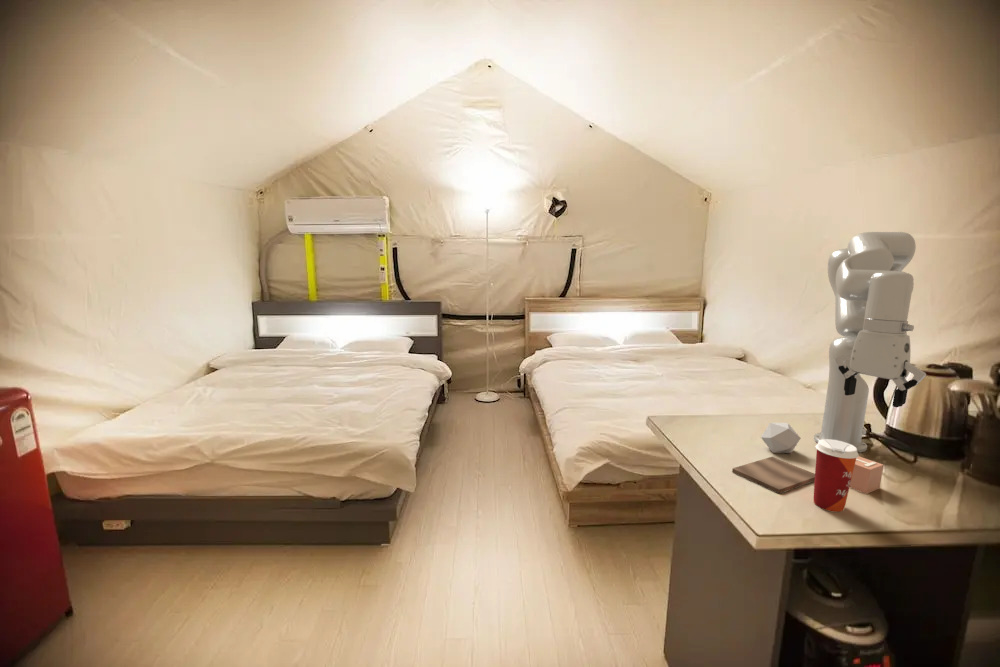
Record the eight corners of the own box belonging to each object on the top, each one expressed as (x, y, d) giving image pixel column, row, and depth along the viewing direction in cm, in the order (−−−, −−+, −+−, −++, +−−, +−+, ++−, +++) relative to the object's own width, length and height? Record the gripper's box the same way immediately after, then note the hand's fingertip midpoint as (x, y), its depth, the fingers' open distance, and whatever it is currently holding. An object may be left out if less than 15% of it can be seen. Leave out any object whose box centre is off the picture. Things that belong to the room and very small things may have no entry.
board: (771, 460, 127) (771, 456, 127) (818, 479, 117) (819, 475, 117) (732, 472, 120) (732, 468, 120) (778, 493, 109) (779, 489, 109)
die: (786, 447, 138) (766, 418, 139) (812, 443, 130) (791, 412, 132) (770, 462, 134) (749, 432, 136) (795, 459, 127) (773, 427, 128)
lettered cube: (851, 477, 118) (855, 454, 117) (879, 488, 113) (883, 463, 112) (838, 482, 116) (841, 458, 115) (866, 494, 110) (870, 468, 109)
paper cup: (851, 518, 100) (861, 455, 97) (807, 507, 104) (816, 446, 101) (848, 502, 106) (857, 442, 104) (807, 492, 110) (815, 435, 108)
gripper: (940, 332, 102) (926, 409, 105) (850, 321, 117) (840, 389, 120) (923, 333, 98) (910, 413, 101) (833, 322, 113) (823, 392, 116)
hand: (872, 400), depth 110 cm, fingers open, 9 cm apart
